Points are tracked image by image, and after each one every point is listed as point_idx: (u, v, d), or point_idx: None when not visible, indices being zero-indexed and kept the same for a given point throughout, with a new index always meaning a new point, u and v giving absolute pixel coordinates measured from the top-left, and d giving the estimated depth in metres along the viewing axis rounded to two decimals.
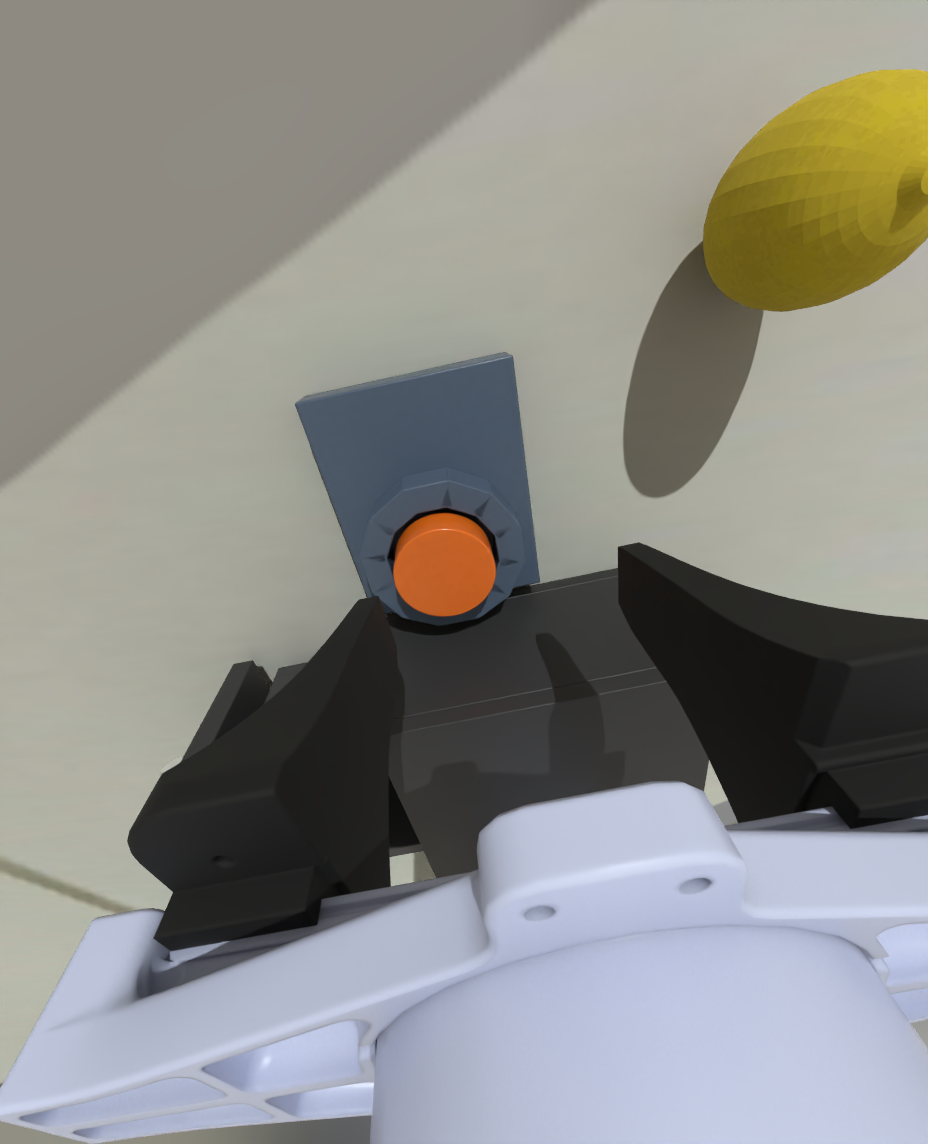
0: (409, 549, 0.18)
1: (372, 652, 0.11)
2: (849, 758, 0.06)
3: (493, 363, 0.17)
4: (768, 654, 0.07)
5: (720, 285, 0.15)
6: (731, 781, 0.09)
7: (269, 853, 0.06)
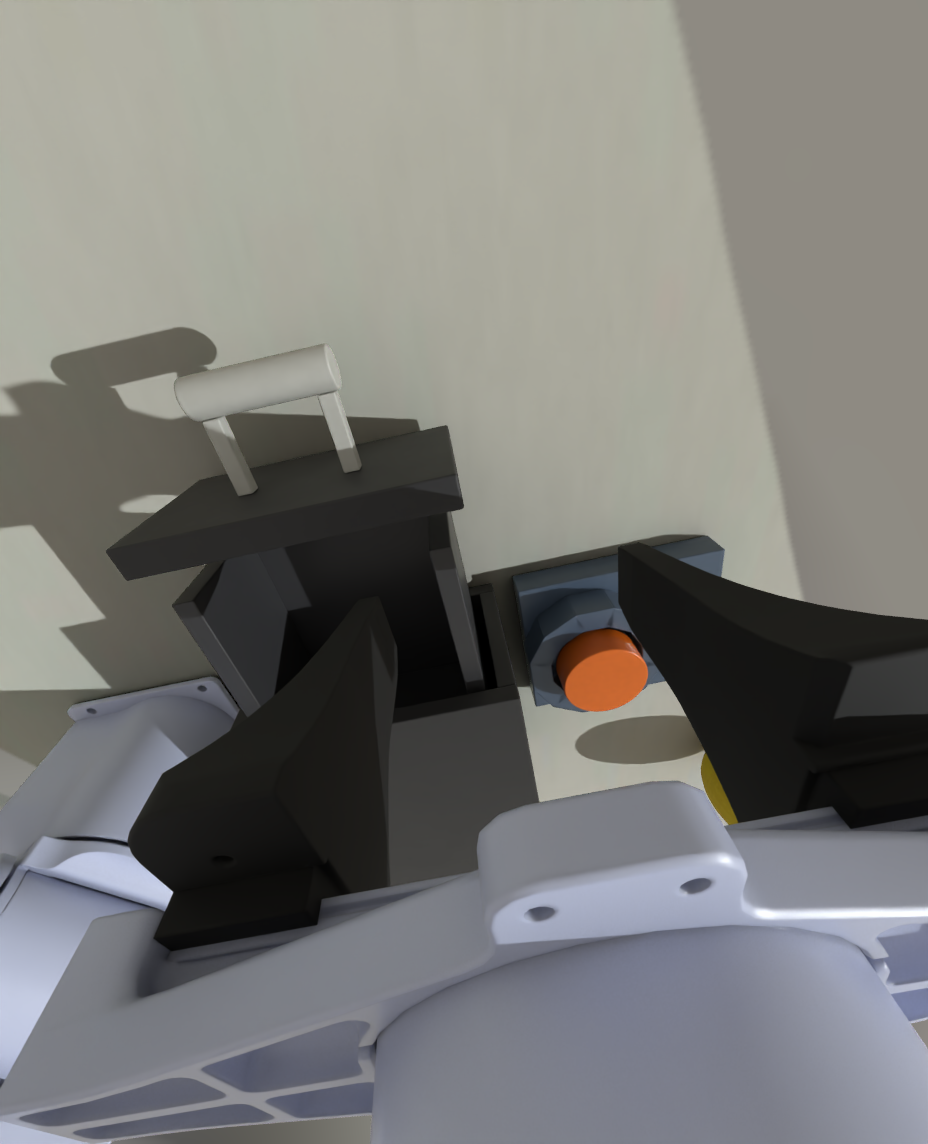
0: (637, 660, 0.22)
1: (372, 652, 0.11)
2: (850, 758, 0.06)
3: None
4: (767, 654, 0.07)
5: None
6: (731, 781, 0.09)
7: (269, 853, 0.06)
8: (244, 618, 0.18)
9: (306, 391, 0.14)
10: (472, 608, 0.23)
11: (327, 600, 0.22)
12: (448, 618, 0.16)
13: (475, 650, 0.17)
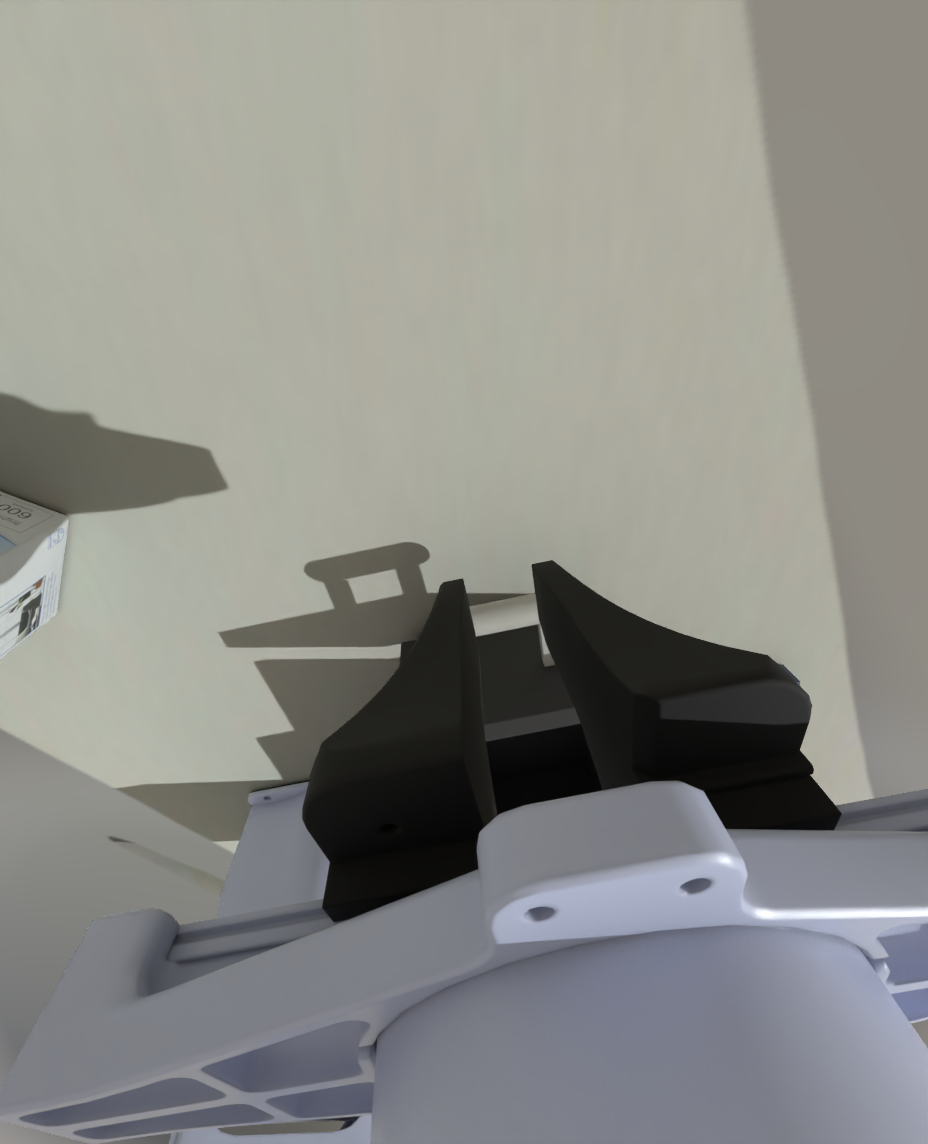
0: None
1: (468, 633, 0.11)
2: None
3: None
4: (611, 684, 0.07)
5: None
6: None
7: (437, 822, 0.06)
8: None
9: (534, 624, 0.20)
10: None
11: None
12: None
13: None
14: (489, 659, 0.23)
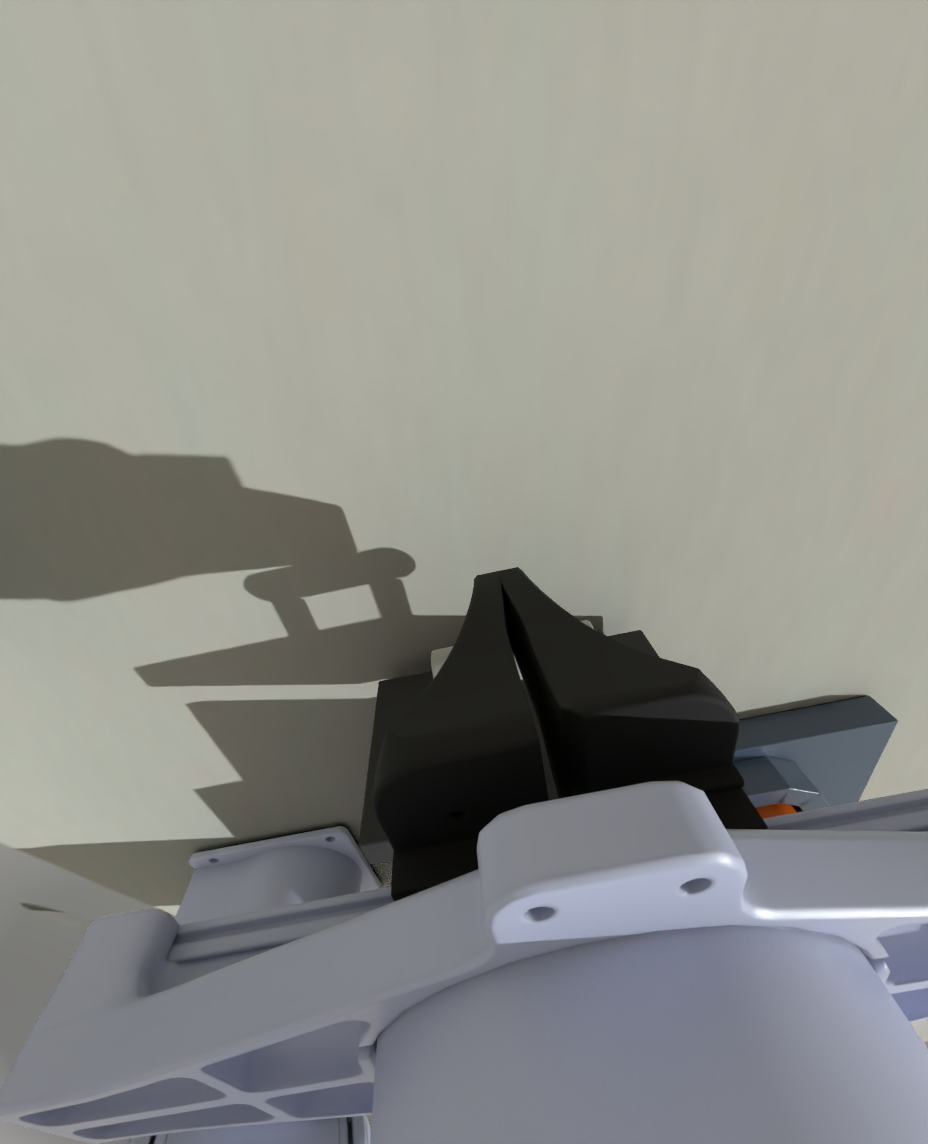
0: None
1: (507, 625, 0.11)
2: None
3: None
4: (550, 696, 0.07)
5: None
6: None
7: (505, 809, 0.06)
8: None
9: None
10: None
11: None
12: None
13: None
14: None
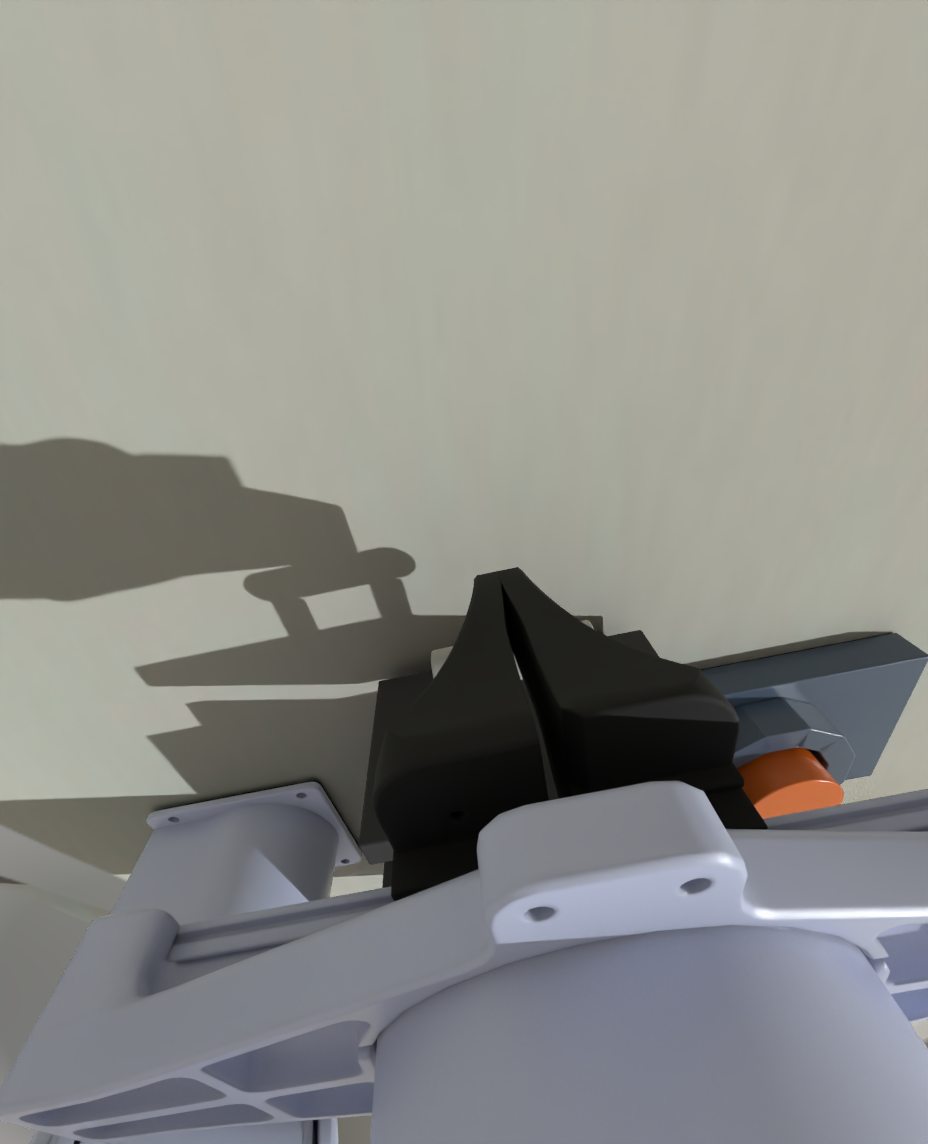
0: (835, 789, 0.19)
1: (507, 625, 0.11)
2: None
3: (873, 767, 0.24)
4: (550, 696, 0.07)
5: None
6: None
7: (505, 809, 0.06)
8: None
9: None
10: None
11: None
12: None
13: None
14: None
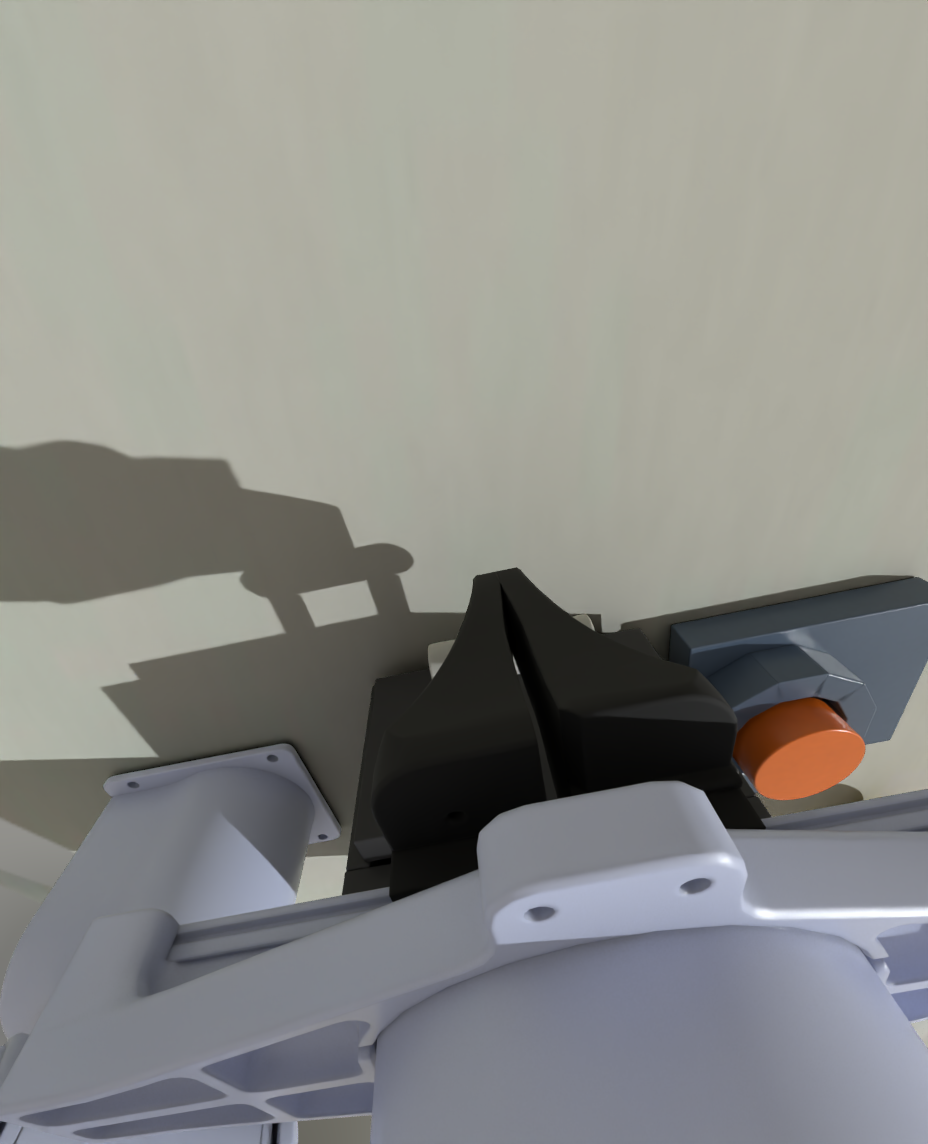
0: (856, 741, 0.17)
1: (506, 625, 0.11)
2: None
3: (892, 730, 0.22)
4: (549, 696, 0.07)
5: None
6: None
7: (503, 809, 0.06)
8: None
9: None
10: None
11: None
12: None
13: None
14: None
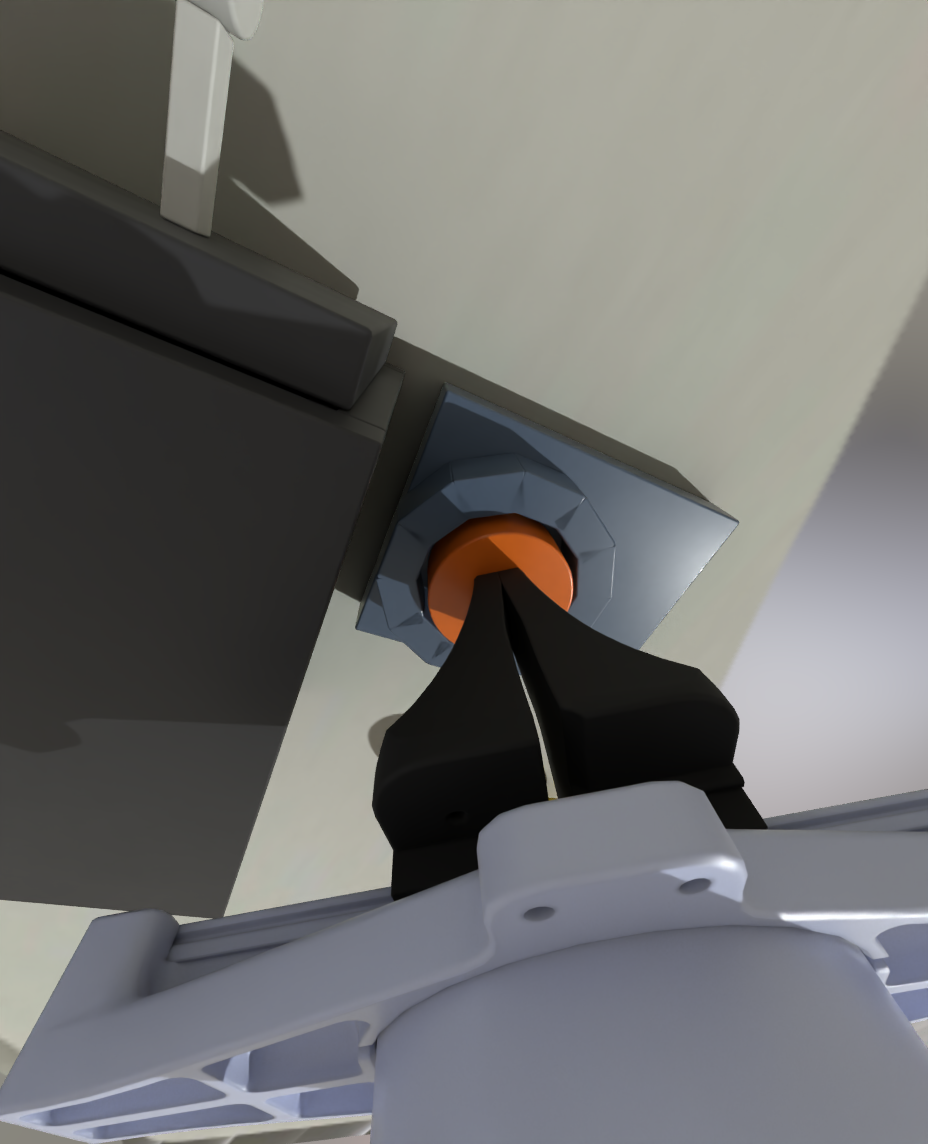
0: (566, 584, 0.13)
1: (507, 625, 0.11)
2: None
3: None
4: (550, 696, 0.07)
5: None
6: None
7: (505, 809, 0.06)
8: None
9: None
10: None
11: None
12: None
13: None
14: (36, 153, 0.08)
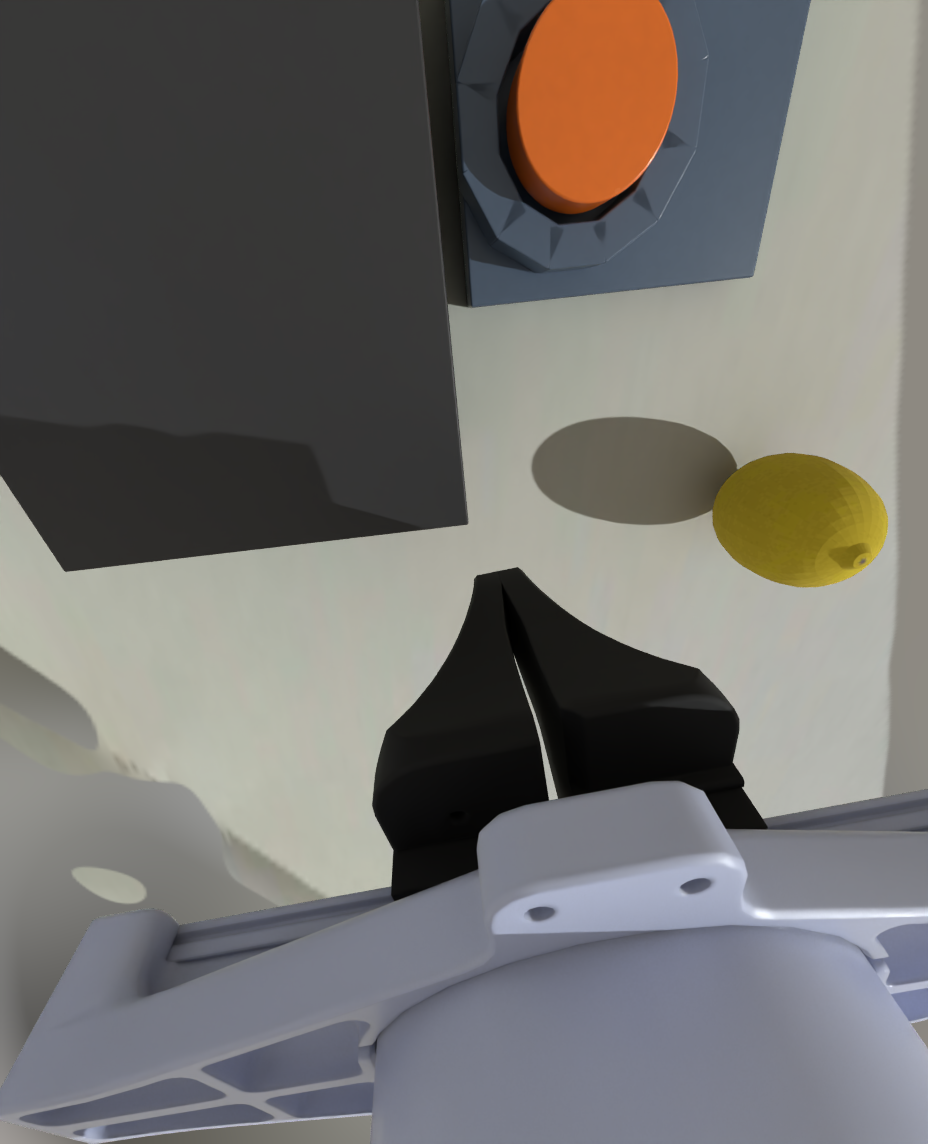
0: (661, 26, 0.11)
1: (507, 625, 0.11)
2: None
3: (755, 250, 0.16)
4: (550, 696, 0.07)
5: (752, 470, 0.19)
6: None
7: (505, 809, 0.06)
8: None
9: None
10: None
11: None
12: None
13: None
14: None
